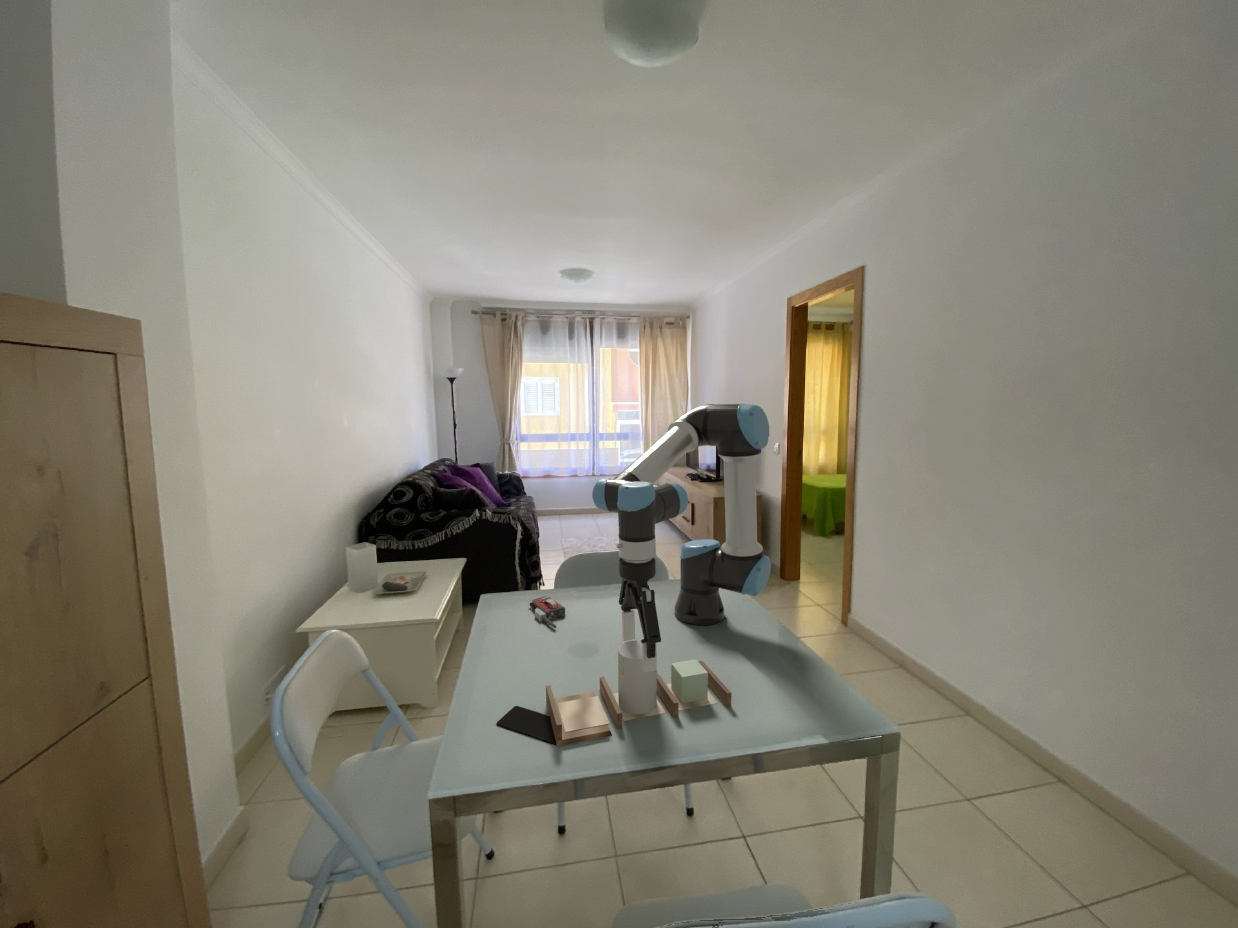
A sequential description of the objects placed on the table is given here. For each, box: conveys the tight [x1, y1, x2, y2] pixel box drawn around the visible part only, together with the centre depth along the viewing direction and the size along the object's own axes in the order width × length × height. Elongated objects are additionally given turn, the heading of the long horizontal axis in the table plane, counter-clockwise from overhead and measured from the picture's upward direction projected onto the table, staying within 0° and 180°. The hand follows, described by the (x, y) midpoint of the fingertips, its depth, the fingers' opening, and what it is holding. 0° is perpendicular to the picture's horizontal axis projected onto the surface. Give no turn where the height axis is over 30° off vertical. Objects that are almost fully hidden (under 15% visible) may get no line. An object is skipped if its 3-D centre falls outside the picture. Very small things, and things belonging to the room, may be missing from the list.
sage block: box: [670, 659, 709, 703], centre depth 111 cm, size 6×6×6 cm
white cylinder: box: [617, 640, 658, 714], centre depth 108 cm, size 8×8×12 cm
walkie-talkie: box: [529, 595, 566, 629], centre depth 156 cm, size 9×4×20 cm
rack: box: [545, 660, 732, 748], centre depth 108 cm, size 37×14×4 cm, turn 106°
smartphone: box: [495, 705, 557, 746], centre depth 103 cm, size 7×1×15 cm
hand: (638, 654), depth 108 cm, fingers open, 13 cm apart
